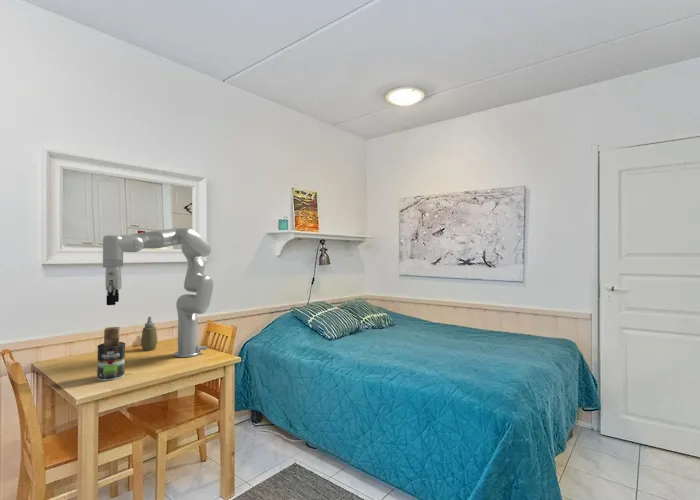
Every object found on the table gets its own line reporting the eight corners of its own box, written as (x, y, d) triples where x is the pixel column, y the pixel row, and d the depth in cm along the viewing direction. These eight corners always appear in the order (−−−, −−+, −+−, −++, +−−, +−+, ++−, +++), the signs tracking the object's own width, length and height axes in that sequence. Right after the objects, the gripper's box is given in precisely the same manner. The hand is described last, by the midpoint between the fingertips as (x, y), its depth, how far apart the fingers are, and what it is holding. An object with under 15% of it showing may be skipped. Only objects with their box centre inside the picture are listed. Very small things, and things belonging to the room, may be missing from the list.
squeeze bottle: (144, 347, 214) (145, 315, 214) (159, 347, 215) (160, 315, 215) (138, 351, 206) (138, 318, 206) (153, 351, 207) (154, 318, 207)
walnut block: (119, 342, 169) (119, 326, 169) (117, 345, 164) (118, 329, 164) (105, 343, 167) (106, 327, 167) (104, 346, 162) (104, 329, 162)
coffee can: (124, 379, 163) (124, 346, 163) (95, 382, 159) (95, 348, 159) (125, 371, 173) (126, 340, 173) (98, 375, 168) (98, 342, 168)
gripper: (120, 264, 159) (120, 305, 159) (125, 263, 175) (125, 300, 175) (99, 265, 156) (98, 306, 156) (106, 263, 172) (106, 301, 172)
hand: (112, 303), depth 166 cm, fingers open, 9 cm apart
